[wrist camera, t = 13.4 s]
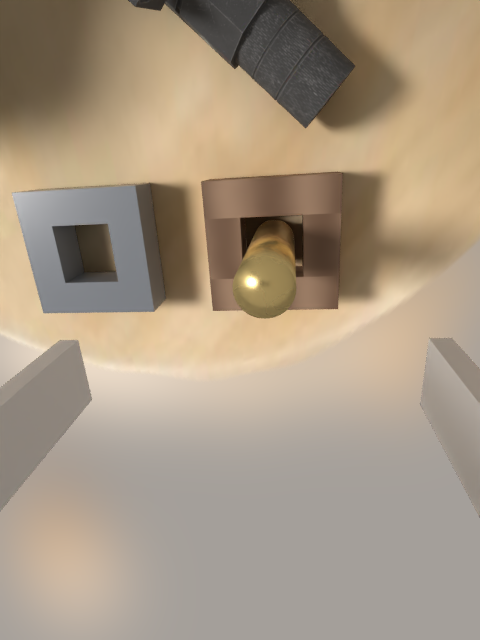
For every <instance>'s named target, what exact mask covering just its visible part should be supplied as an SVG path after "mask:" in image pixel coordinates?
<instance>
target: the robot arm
mask: <svg viewBox="0 0 480 640" xmlns="http://www.w3.org/2000/svg"><path fill="white" fill-rule="evenodd" d="M91 400H92V397H91V393H90V389H89V385H88V380H87V376H86V372H85V367H84V363H83V359H82V355H81V350H80V346H79V342H78V340H60V341H58V342H57V343H56V344H54V345H53V346H52V347H51V348H49V349H48V350H47V351H46V352H44V353H43V354H42V355H41V356H39V357H38V358H37V359H36V360H34V361H33V362H32V363H31V364H29V365H28V366H27V367H26V368H24V369H23V370H22V371H20V372H19V373H18V374H17V375H15V376H14V377H13V378H12V379H10V380H9V381H8V382H7V383H5V384H4V385H3V386H1V387H0V511H1V510H2V509H3V508H4V506H5V505H6V504H7V503H8V501H9V500H10V499H11V498H12V497H13V495H14V494H15V493H16V492H17V491H18V489H19V488H20V487H21V486H22V484H23V483H24V482H25V480H26V479H27V478H28V477H29V476H30V475H31V473H32V472H33V471H34V470H35V469H36V467H37V466H38V465H39V464H40V462H41V461H42V460H43V459H44V458H45V456H46V455H47V454H48V453H49V451H50V450H51V449H52V448H53V447H54V445H55V444H56V443H57V442H58V440H59V439H60V438H61V437H62V436H63V434H64V433H65V432H66V431H67V429H68V428H69V427H70V426H71V425H72V423H73V422H74V421H75V420H76V419H77V417H78V416H79V415H80V414H81V412H82V411H83V410H84V409H85V407H86V406H87V405H88V404H89V403H90V401H91ZM420 405H421V407H422V409H423V411H424V413H425V415H426V416H427V419H428V420H429V422H430V424H431V426H432V428H433V430H434V431H435V434H436V435H437V437H438V439H439V441H440V443H441V445H442V447H443V449H444V451H445V453H446V454H447V456H448V458H449V460H450V462H451V464H452V466H453V468H454V470H455V472H456V474H457V475H458V477H459V479H460V481H461V483H462V485H463V487H464V488H465V490H466V492H467V494H468V496H469V498H470V500H471V502H472V504H473V506H474V507H475V510H476V511H477V513H478V515H479V517H480V369H479V367H478V366H477V365H476V364H475V363H474V362H473V361H472V360H471V359H470V357H469V356H468V355H467V354H466V353H465V352H464V351H463V350H462V349H461V347H460V346H459V345H458V344H457V343H456V342H455V341H454V340H453V339H452V338H429V342H428V349H427V357H426V365H425V373H424V380H423V388H422V395H421V402H420Z"/></svg>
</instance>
